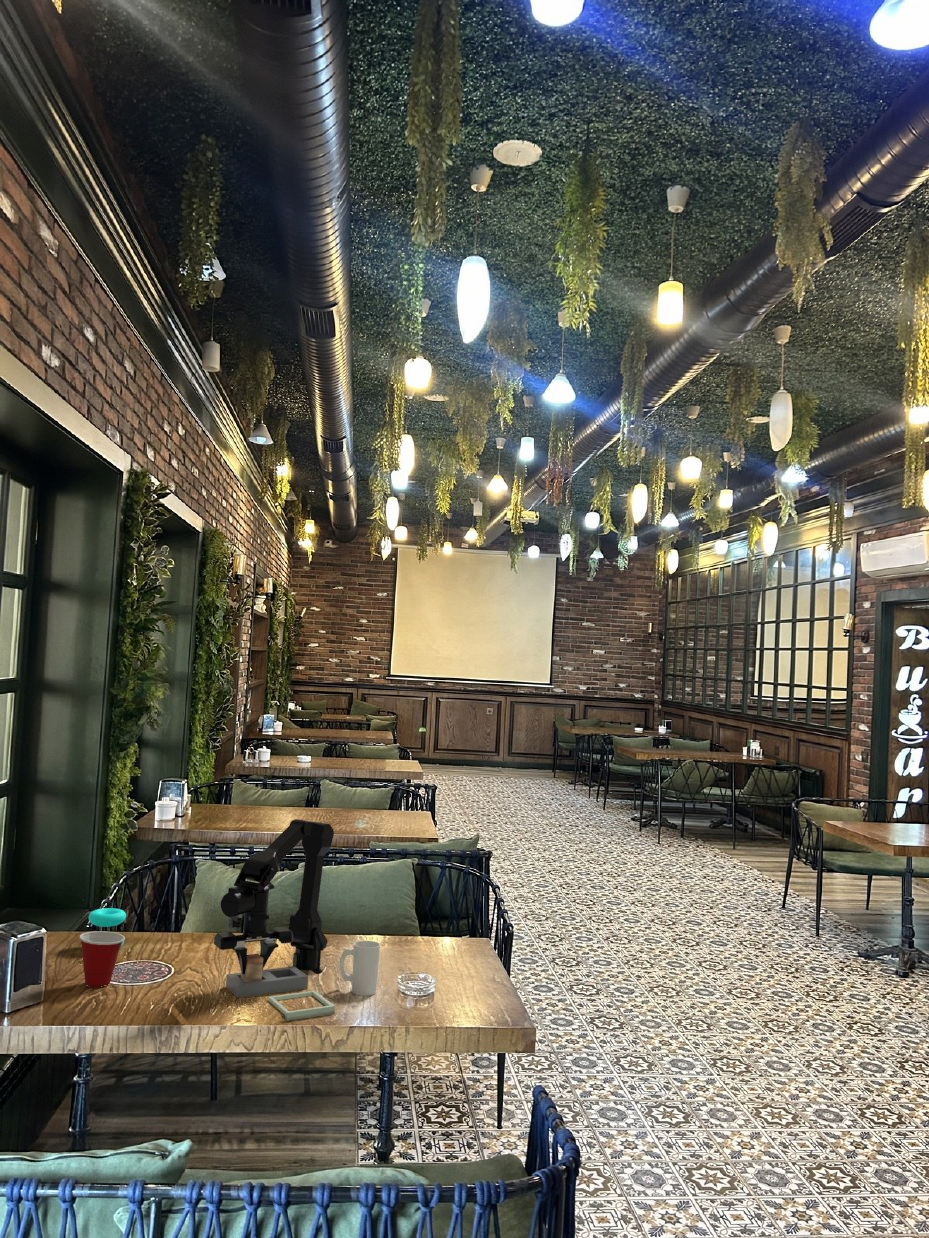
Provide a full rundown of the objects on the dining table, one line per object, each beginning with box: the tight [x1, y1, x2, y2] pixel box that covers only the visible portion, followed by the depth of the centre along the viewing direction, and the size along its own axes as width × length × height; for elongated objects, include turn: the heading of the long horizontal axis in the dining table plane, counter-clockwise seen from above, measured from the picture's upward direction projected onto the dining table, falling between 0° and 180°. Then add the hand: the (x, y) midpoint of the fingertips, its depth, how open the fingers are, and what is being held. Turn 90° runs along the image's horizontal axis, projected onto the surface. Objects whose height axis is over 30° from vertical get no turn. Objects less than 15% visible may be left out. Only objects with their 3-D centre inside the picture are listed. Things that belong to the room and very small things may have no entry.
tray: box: [267, 990, 336, 1022], centre depth 224 cm, size 12×12×2 cm
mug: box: [339, 940, 381, 997], centre depth 239 cm, size 10×7×12 cm, turn 97°
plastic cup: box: [79, 930, 126, 988], centre depth 233 cm, size 11×11×12 cm
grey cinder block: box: [225, 965, 309, 999], centre depth 235 cm, size 18×9×4 cm, turn 122°
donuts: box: [87, 907, 127, 947], centre depth 265 cm, size 10×10×10 cm
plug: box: [240, 953, 264, 982], centre depth 233 cm, size 4×4×8 cm
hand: (251, 972), depth 233 cm, fingers closed on plug, 4 cm apart
